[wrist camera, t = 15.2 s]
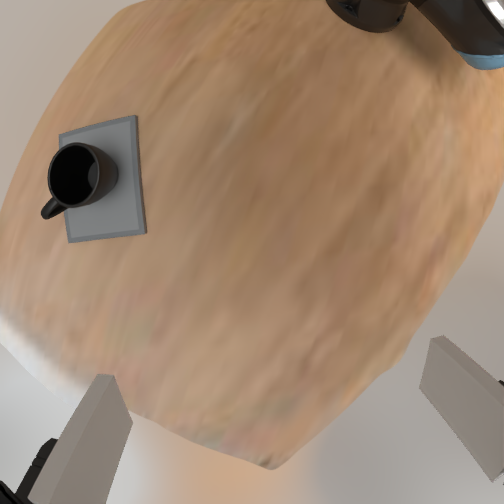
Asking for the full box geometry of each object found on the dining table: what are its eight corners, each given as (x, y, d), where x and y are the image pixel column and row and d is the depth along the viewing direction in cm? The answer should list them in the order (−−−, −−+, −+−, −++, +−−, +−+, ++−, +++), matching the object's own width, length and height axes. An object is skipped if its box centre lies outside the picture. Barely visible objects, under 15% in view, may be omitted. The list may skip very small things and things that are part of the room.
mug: (57, 189, 39) (22, 193, 30) (107, 137, 38) (78, 128, 29) (84, 228, 41) (52, 240, 32) (137, 178, 40) (111, 177, 31)
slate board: (62, 135, 39) (58, 134, 37) (137, 116, 39) (134, 114, 38) (72, 241, 43) (68, 243, 42) (147, 232, 43) (144, 234, 42)
